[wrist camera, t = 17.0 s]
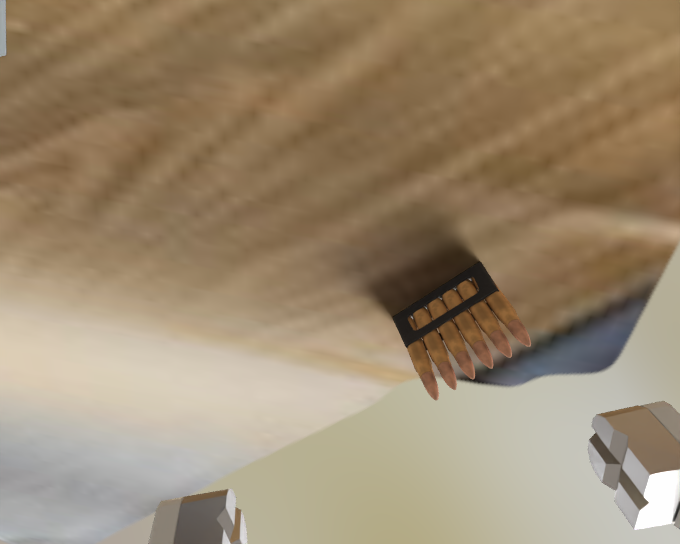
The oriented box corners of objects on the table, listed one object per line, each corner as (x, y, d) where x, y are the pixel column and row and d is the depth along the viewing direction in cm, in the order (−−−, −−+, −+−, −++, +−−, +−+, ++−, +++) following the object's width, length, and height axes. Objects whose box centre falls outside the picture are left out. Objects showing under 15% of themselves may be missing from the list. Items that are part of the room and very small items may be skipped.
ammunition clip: (480, 261, 48) (535, 332, 38) (488, 273, 49) (544, 346, 39) (392, 317, 51) (421, 399, 40) (401, 328, 52) (432, 411, 41)
